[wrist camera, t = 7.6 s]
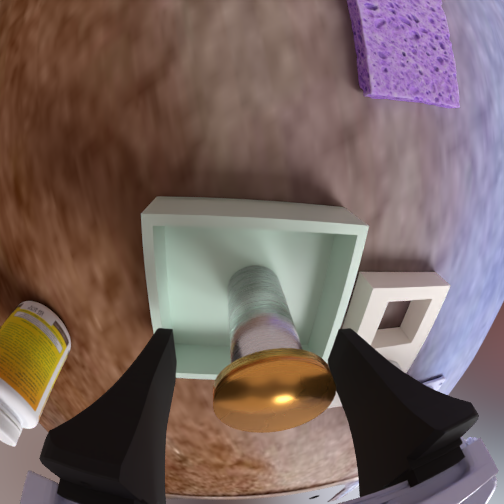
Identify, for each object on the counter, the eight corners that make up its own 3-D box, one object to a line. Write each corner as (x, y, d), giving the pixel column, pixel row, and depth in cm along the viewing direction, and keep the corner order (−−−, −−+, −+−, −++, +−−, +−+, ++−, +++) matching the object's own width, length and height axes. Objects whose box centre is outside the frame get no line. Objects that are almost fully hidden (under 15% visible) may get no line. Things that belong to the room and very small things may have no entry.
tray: (311, 344, 19) (322, 375, 16) (168, 343, 18) (162, 376, 15) (344, 207, 15) (369, 225, 12) (156, 196, 13) (140, 213, 11)
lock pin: (286, 318, 17) (319, 426, 10) (214, 318, 16) (214, 433, 9) (297, 254, 15) (352, 359, 8) (215, 252, 15) (211, 367, 8)
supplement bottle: (17, 285, 15) (-56, 379, 5) (75, 317, 16) (16, 435, 7) (21, 334, 17) (-29, 421, 7) (72, 362, 18) (33, 463, 9)
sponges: (412, -38, 8) (426, -46, 6) (444, 111, 13) (463, 112, 11) (323, -64, 7) (332, -77, 6) (355, 98, 13) (371, 95, 11)
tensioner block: (383, 380, 22) (403, 417, 18) (317, 391, 22) (332, 435, 17) (435, 271, 17) (473, 307, 13) (359, 271, 17) (396, 317, 12)
